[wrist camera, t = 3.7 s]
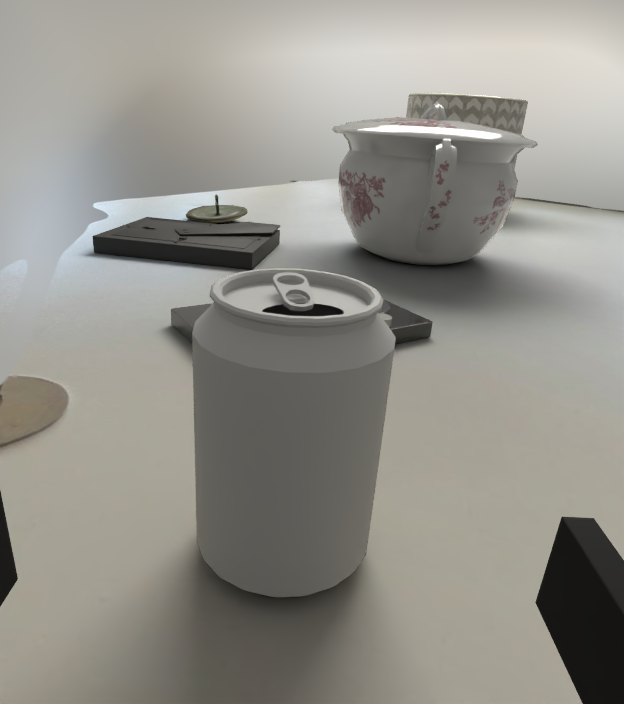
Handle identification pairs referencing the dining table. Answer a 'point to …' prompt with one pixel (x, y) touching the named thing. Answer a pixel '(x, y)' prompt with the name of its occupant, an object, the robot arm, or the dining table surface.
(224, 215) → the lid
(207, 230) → the picture frame
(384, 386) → the can
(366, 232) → the chamber pot
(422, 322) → the hob
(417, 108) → the planter
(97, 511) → the dining table surface
